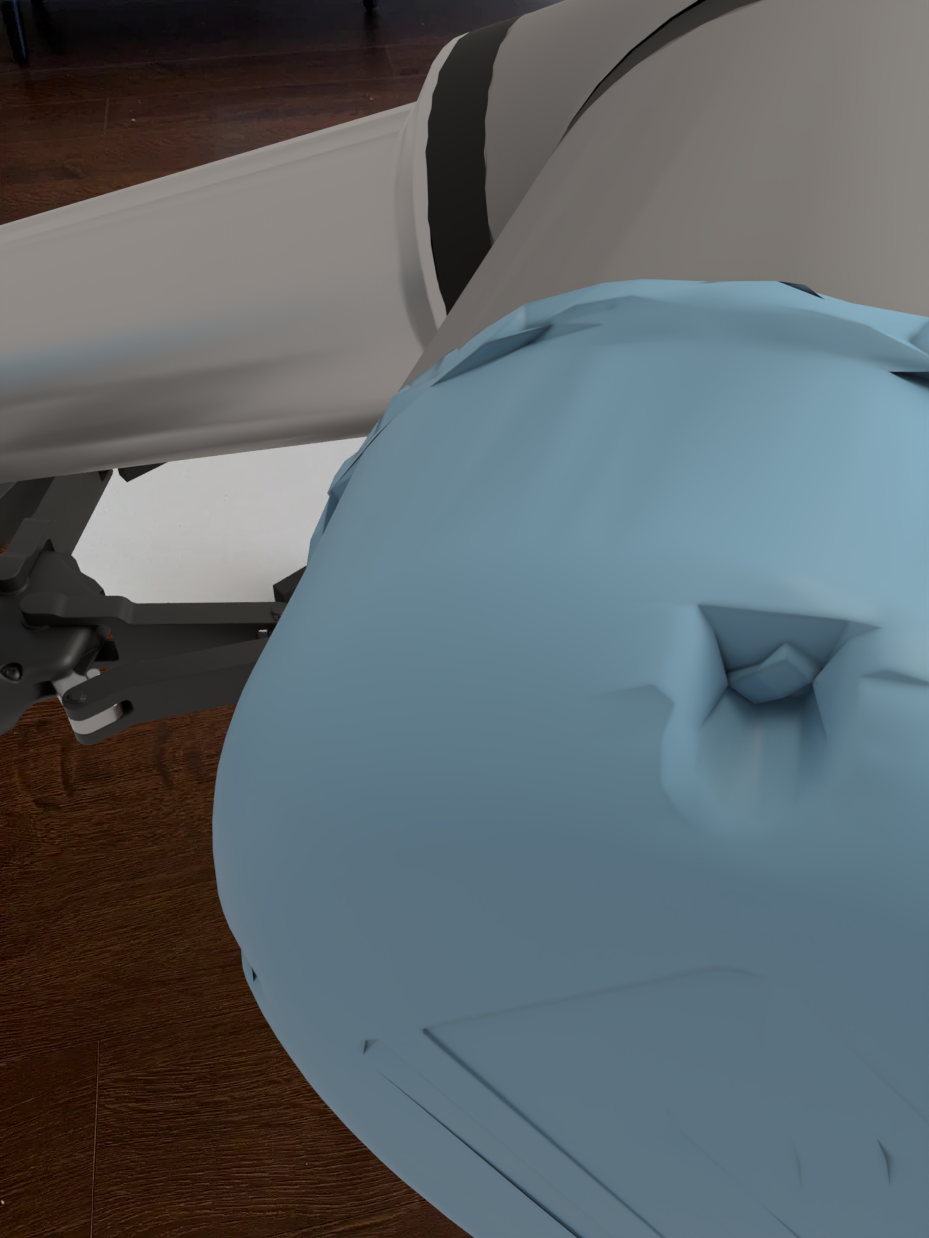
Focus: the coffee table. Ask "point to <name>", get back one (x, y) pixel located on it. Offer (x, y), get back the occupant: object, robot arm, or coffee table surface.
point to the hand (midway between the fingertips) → (305, 469)
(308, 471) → the coffee table surface
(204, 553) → the coffee table surface
